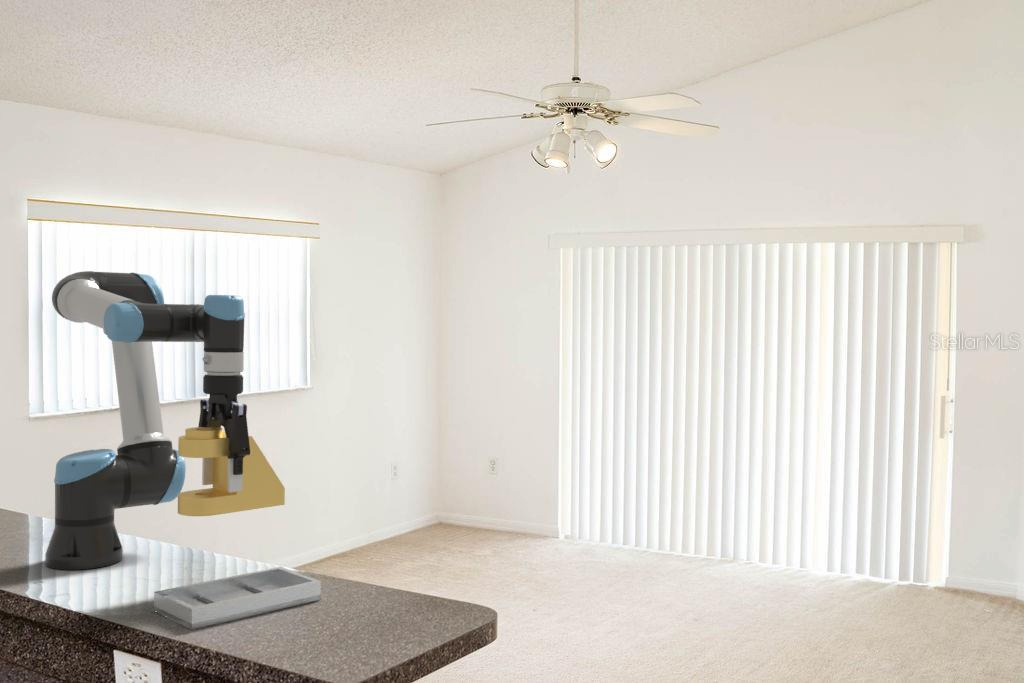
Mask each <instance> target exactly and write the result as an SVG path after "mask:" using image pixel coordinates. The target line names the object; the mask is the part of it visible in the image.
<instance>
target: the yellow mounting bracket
mask: <svg viewBox="0 0 1024 683" xmlns="http://www.w3.org/2000/svg"><path fill="white" fill-rule="evenodd" d="M184 432H185V435H180V436H178V443H177V444H178V446H177V447H178V448H177V449H178V450H177V451H178V455H179V456H181V457H184V458H189V459H191V458H192V459H203V458H211V457H213V484H212V487H210V488H202V489H201V488H200V489H195V490H194V489H192V490H187V491H181V492H180V493H179V494H178V497H177V514H178V515H181V516H185V517H210V516H211V517H213V516H218V515H225V514H231V513H237V512H243V511H244V512H245V511H251V510H258V509H264V508H270V507H271V508H272V507H278V506H284V505H285V500H286V499H285V498H286V496H285V495H286V494H285V491H286V488H285V486H284V484H283V483H282V482H281V480H280V478H279V477H278V475H277V473H276V472H275V471H274V469H273V466H272V465H271V464H270V463H269V461H268V459H267V458H266V456H265V455H264V453H263V451H262V450H261V448H260V447H259V445H258V444H257V442H256V440H255V438H254V437H253V436H252V435H248V436H249V444H250V455H246V456H245V457H243V480H242V491H236V492H228V456H229V455H230V450H229V438H226V434H225V431H223V428H222V427H221V428H218V427H197V426H196V427H187V428H185V430H184ZM244 449H245V448H244ZM235 452H236V451H235Z"/></svg>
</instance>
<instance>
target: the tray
mask: <svg viewBox="0 0 1024 683" xmlns="http://www.w3.org/2000/svg"><path fill="white" fill-rule="evenodd" d="M321 589H322V581H321V580H320V579H319V580H318V579H315V578H313V577H310V576H307V575H305V574H301V573H298V572H296V571H293V570H290V569H288V568H284V567H282V566H279V567H278V566H277V567H274V568H268V569H263V570H262V569H261V570H257V571H252V572H248V573H242V574H239V575H233V576H232V575H231V576H227V577H222V578H217V579H213V580H209V581H208V580H207V581H201V582H197V583H192V584H187V585H181V586H177V587H172V588H167V589H161V590H156V591H153V612H154V611H157V612H159V613H160V614H162V615H161V616H163V615H164V616H163V617H165V616H167V617H168V618H167V617H166V618H167V619H169V618H170V619H169V620H171V619H172V620H171V621H173V620H174V621H173V622H175V621H176V622H175V623H177V624H179V623H180V624H179V625H181V624H182V625H181V626H183V625H184V626H183V627H185V626H186V627H185V628H187V627H188V628H187V629H189V628H190V629H189V630H191V629H192V631H193V630H197V629H196V628H198V629H201V628H200V627H202V628H205V627H204V626H206V627H210V626H215V625H219V624H223V623H226V622H231V621H236V620H241V619H244V618H248V617H252V616H256V615H261V614H266V613H270V612H274V611H279V610H282V609H286V608H290V607H291V608H292V607H295V606H299V605H304V604H308V603H312V602H317V601H320V600H322V599H321V598H322V590H321ZM160 614H159V615H160ZM214 624H215V625H214Z"/></svg>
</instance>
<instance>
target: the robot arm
mask: <svg viewBox="0 0 1024 683" xmlns="http://www.w3.org/2000/svg"><path fill="white" fill-rule="evenodd" d="M162 290H163V289H162V287H161V286H160V284H159V282H158V281H157V279H155V278H154V277H153V276H151V275H149V274H142V273H137V272H129V273H128V272H111V271H109V272H108V271H91V270H88V271H79V272H74V273H71V274H68V275H66V276H65V277H63V278H62V279H61V280H59V281H58V283H57V284H56V285H55V287H54V288H53V290H52V294H51V302H52V307H53V309H54V310H55V312H56V313H57V314H58V315H59V316H60V317H62V318H63V319H65V320H68V321H70V322H73V323H78V324H79V323H80V324H81V323H87V324H90V325H93V326H94V327H98V328H100V329H102V330H103V334H104V335H106V336H107V338H108V340H110V341H111V348H112V354H113V361H114V372H115V379H116V380H115V381H116V388H117V390H116V391H117V397H118V406H119V407H118V408H119V415H120V423H121V432H122V442H121V443H120V444H119V445H118V447H117V448H116V451H117V452H116V453H117V454H116V453H115V451H114V450H113V449H109V448H100V449H99V448H98V449H88V450H82V451H77V452H74V453H70V454H67V455H65V456H63V457H61V458H60V459H59V460H58V461H57V462H56V465H55V473H54V475H55V476H54V479H53V482H54V529H53V530H52V534H51V537H50V540H49V543H48V546H47V548H46V552H45V556H44V557H45V561H44V562H45V563H44V564H45V566H46V567H48V568H50V569H56V570H64V571H65V570H69V571H70V570H71V571H72V570H73V571H74V570H75V571H76V570H89V569H97V568H102V567H107V566H110V565H111V566H112V565H113V564H117V563H119V562H121V561H122V560H123V552H124V551H123V546H122V543H121V539H120V536H119V534H118V532H117V528H116V525H115V510H116V509H117V510H118V509H125V508H133V507H141V506H149V505H151V506H157V505H160V504H164V503H171V502H173V501H174V500H175V499H178V494H179V493H182V489H183V488H184V487H183V486H184V484H185V479H186V471H187V470H186V461H185V457H181V456H179V455H178V450H177V449H176V448H175V449H174V448H173V442H172V440H171V439H170V438H169V437H167V436H165V434H164V427H163V420H162V412H161V411H162V410H161V401H160V396H159V395H160V394H159V387H158V379H157V371H156V365H155V364H156V362H155V355H154V347H153V342H154V343H156V342H157V343H158V342H160V343H161V342H162V343H163V342H164V343H166V342H167V343H168V342H169V343H170V342H171V343H174V342H175V343H178V342H179V343H181V342H182V343H189V342H190V343H194V342H195V343H200V342H201V343H203V357H202V361H203V371H204V372H205V373H206V374H204V376H202V378H203V381H202V384H203V385H202V390H203V393H204V394H206V395H209V398H208V399H206V398H205V399H200V402H199V405H200V407H199V408H200V411H199V412H200V414H199V420H198V427H218V428H222V427H223V430H224V432H225V434H226V438H229V450H230V455H229V456H228V492H236V491H242V480H243V457H245V456H246V455H250V444H249V436H250V435H249V430H248V429H249V428H248V420H247V419H248V418H247V413H248V412H247V411H248V406H247V404H246V403H239V402H238V397H237V396H238V395H240V394H243V392H244V376H243V375H242V374H241V373H242V372H244V366H245V365H244V363H245V362H244V361H245V360H244V357H245V356H244V355H245V354H244V353H245V352H244V348H245V345H244V343H245V340H244V339H245V318H246V313H245V304H244V303H245V301H244V298H242V296H240V295H235V294H234V295H232V294H230V295H229V294H208V295H206V296H205V298H204V302H203V304H199V303H197V304H195V303H194V304H193V303H191V304H183V303H182V304H181V303H180V304H179V303H178V304H177V303H176V304H175V303H165V298H164V294H163V291H162ZM244 448H245V449H244ZM235 451H236V452H235ZM201 466H202V470H201V471H202V474H201V475H202V476H201V478H202V480H201V484H202V486H209V485H210V486H211V485H213V457H211V458H202V465H201Z"/></svg>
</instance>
